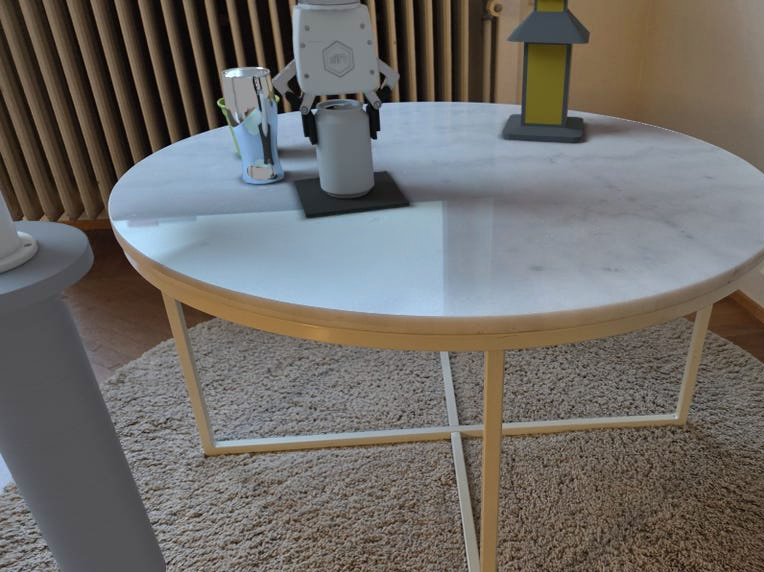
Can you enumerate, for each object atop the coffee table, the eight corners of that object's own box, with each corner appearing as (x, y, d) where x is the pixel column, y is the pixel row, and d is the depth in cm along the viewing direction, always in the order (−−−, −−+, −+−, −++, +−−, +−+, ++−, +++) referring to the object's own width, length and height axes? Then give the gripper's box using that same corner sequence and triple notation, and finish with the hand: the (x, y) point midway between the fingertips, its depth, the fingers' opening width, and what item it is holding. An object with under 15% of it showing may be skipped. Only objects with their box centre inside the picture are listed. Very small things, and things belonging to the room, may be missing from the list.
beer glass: (234, 185, 99) (212, 76, 91) (246, 170, 105) (226, 66, 97) (282, 185, 99) (264, 76, 91) (291, 169, 105) (276, 66, 97)
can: (339, 179, 100) (330, 94, 94) (384, 186, 98) (378, 99, 91) (311, 195, 94) (299, 106, 88) (358, 203, 92) (349, 112, 86)
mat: (306, 217, 89) (305, 214, 89) (293, 183, 100) (293, 180, 100) (409, 205, 93) (409, 202, 93) (386, 173, 104) (386, 170, 104)
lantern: (581, 143, 118) (599, -59, 102) (501, 139, 120) (506, -60, 103) (583, 122, 130) (599, -62, 113) (510, 118, 132) (516, -63, 115)
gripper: (256, -2, 77) (280, 153, 87) (405, -6, 82) (412, 141, 92) (252, -9, 83) (275, 137, 93) (391, -12, 88) (399, 127, 98)
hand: (343, 138), depth 92 cm, fingers closed on can, 7 cm apart
